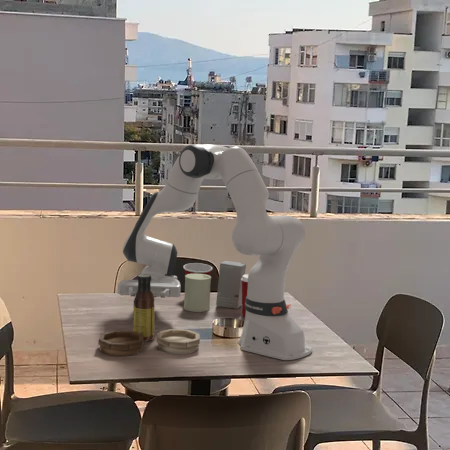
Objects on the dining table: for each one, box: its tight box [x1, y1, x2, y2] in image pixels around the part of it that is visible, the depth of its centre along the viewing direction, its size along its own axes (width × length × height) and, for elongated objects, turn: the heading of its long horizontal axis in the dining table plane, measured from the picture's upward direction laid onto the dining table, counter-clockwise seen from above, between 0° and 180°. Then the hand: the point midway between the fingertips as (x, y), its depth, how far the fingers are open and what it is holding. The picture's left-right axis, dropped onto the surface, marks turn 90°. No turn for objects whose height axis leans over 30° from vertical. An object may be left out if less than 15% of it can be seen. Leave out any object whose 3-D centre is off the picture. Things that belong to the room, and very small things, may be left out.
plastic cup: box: [183, 262, 213, 276], centre depth 268 cm, size 11×11×12 cm
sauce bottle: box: [132, 273, 155, 342], centre depth 217 cm, size 6×6×20 cm
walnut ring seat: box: [98, 330, 145, 357], centre depth 208 cm, size 12×12×4 cm
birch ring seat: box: [156, 328, 201, 355], centre depth 213 cm, size 12×12×4 cm
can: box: [183, 274, 212, 313], centre depth 254 cm, size 9×9×12 cm
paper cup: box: [241, 273, 249, 318], centre depth 248 cm, size 8×8×14 cm
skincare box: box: [215, 260, 247, 310], centre depth 259 cm, size 8×7×16 cm
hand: (147, 294), depth 228 cm, fingers open, 8 cm apart
